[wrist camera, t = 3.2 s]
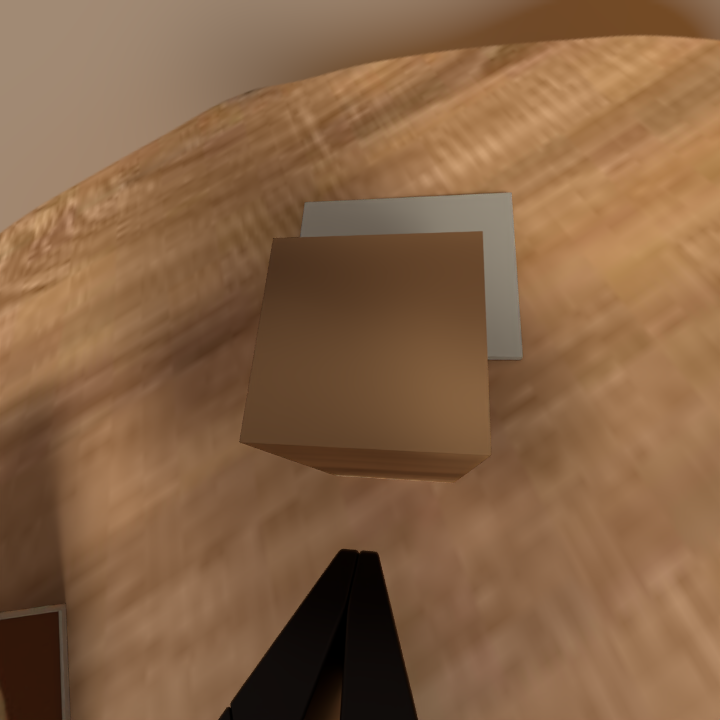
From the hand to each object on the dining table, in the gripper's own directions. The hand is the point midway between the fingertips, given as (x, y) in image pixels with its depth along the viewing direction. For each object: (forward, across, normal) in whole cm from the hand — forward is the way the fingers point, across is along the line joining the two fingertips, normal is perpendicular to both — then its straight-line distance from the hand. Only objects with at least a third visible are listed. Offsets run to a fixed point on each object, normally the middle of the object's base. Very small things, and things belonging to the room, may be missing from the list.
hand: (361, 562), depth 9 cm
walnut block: (+9, 0, +2) cm, 10 cm away
